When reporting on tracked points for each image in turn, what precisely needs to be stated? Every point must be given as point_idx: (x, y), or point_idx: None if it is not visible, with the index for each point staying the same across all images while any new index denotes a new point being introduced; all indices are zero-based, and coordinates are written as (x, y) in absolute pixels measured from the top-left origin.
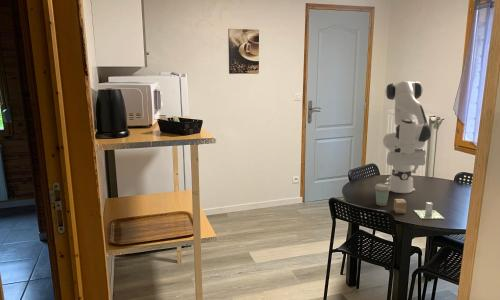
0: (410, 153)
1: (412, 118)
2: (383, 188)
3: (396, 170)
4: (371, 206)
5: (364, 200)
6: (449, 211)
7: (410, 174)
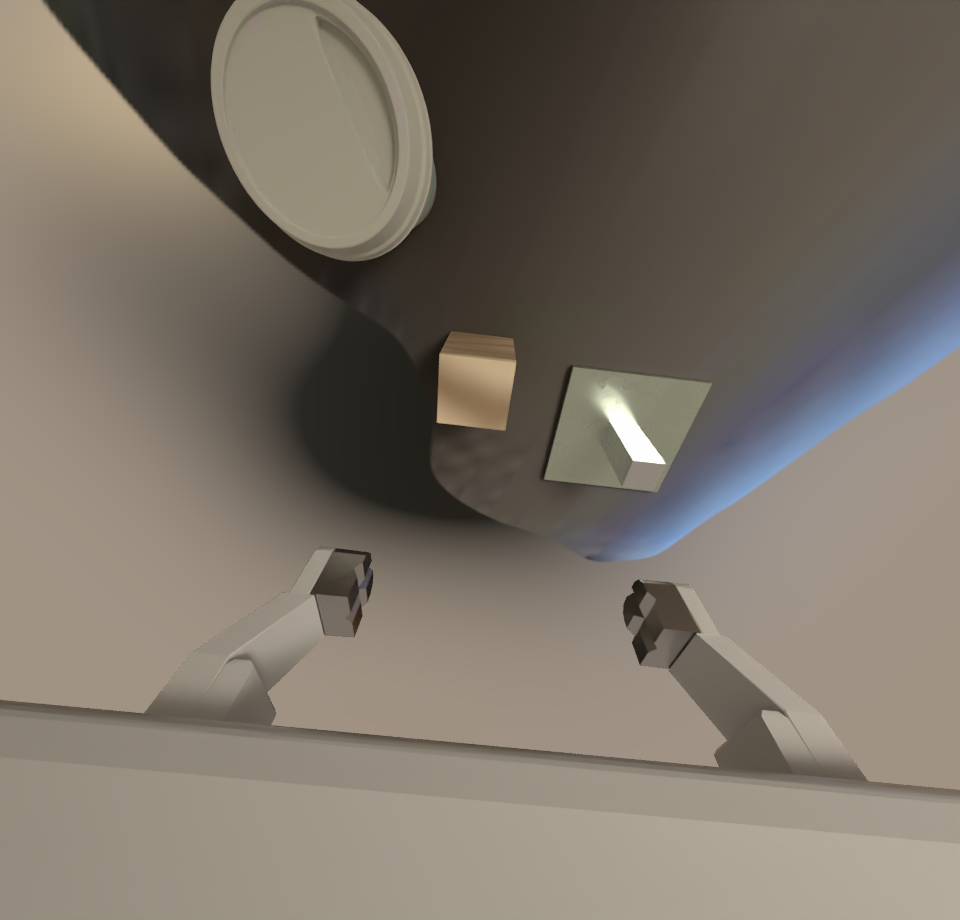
0: None
1: None
2: (325, 251)
3: (316, 630)
4: None
5: None
6: (797, 391)
7: None
